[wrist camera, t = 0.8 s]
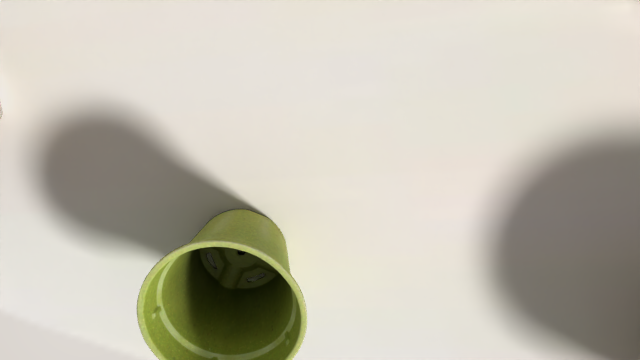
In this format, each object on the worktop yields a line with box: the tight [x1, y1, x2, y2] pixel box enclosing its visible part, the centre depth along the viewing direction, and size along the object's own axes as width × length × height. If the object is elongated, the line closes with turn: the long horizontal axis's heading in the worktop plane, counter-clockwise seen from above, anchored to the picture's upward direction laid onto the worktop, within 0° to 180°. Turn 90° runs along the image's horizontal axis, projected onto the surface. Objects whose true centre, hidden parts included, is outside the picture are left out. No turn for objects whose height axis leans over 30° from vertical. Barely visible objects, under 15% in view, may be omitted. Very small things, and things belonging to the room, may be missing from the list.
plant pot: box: [137, 209, 307, 360], centre depth 37 cm, size 9×9×9 cm
